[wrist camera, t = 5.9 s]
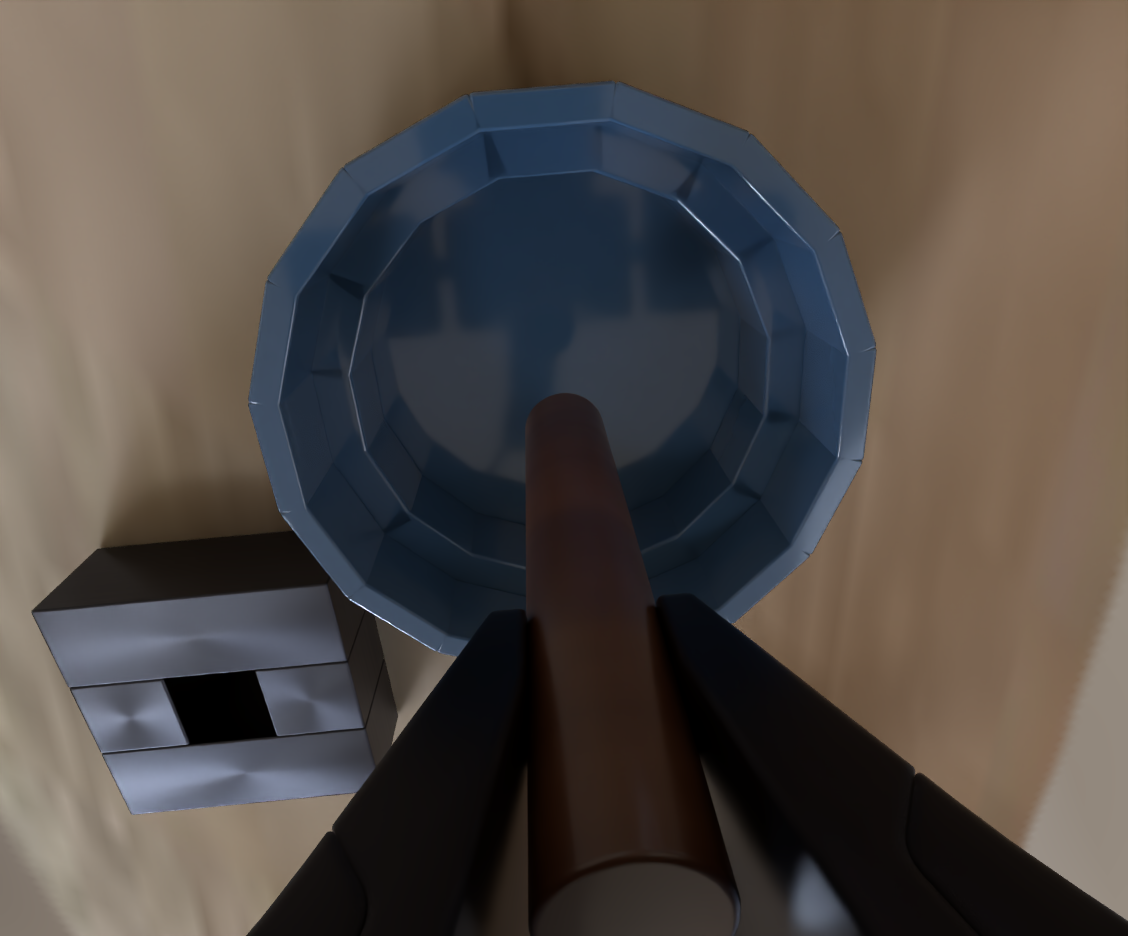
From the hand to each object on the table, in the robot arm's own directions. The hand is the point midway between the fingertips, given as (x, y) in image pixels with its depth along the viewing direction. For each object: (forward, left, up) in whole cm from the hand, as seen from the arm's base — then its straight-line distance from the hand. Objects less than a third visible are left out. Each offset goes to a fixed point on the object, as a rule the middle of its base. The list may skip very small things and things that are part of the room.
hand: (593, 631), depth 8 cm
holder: (-8, +10, -11) cm, 17 cm away
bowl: (0, 0, -11) cm, 11 cm away
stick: (0, 0, -6) cm, 6 cm away
